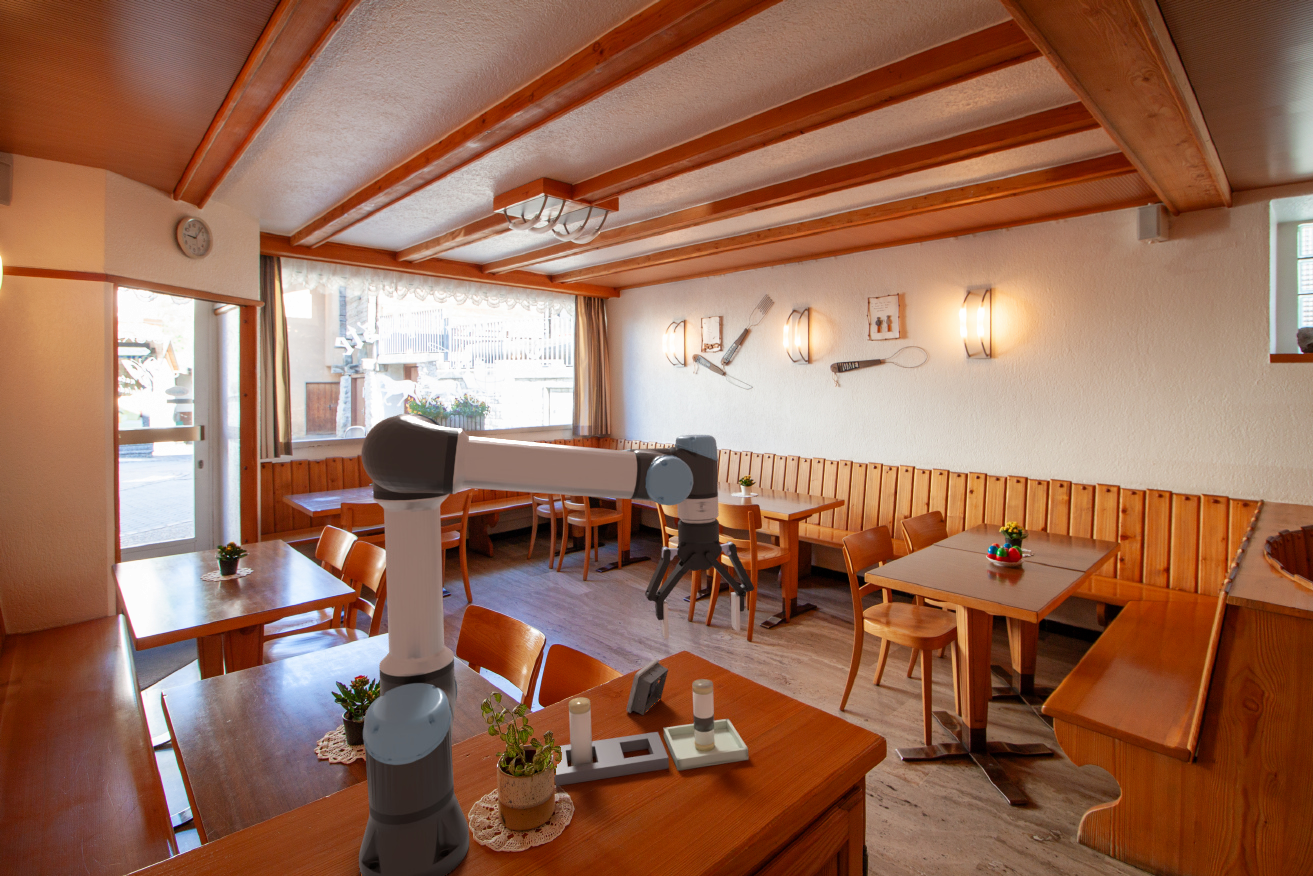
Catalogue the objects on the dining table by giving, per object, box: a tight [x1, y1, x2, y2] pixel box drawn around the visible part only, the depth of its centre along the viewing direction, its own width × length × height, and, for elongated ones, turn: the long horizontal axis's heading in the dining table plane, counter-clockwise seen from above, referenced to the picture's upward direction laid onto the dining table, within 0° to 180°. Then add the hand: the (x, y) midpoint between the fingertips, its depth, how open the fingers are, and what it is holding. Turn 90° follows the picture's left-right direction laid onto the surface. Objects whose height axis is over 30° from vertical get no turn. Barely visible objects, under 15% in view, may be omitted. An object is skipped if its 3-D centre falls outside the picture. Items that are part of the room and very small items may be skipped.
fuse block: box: [554, 731, 670, 787], centre depth 116 cm, size 20×9×2 cm, turn 102°
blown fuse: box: [692, 678, 715, 751], centre depth 119 cm, size 4×4×12 cm
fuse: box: [568, 697, 594, 767], centre depth 115 cm, size 4×4×12 cm
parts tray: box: [663, 718, 749, 772], centre depth 120 cm, size 13×11×2 cm
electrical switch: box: [626, 657, 669, 716], centre depth 136 cm, size 9×5×9 cm, turn 151°
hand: (700, 632), depth 118 cm, fingers open, 13 cm apart
